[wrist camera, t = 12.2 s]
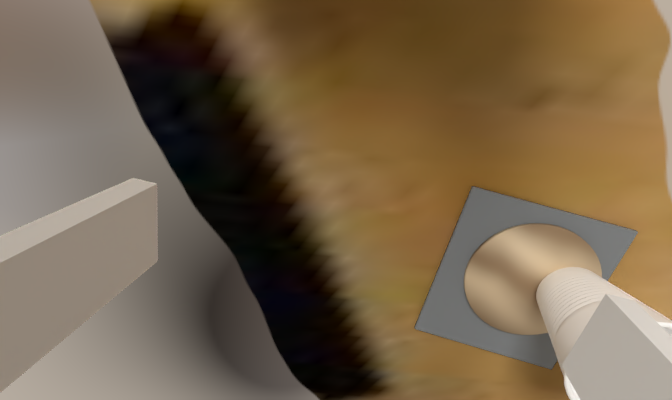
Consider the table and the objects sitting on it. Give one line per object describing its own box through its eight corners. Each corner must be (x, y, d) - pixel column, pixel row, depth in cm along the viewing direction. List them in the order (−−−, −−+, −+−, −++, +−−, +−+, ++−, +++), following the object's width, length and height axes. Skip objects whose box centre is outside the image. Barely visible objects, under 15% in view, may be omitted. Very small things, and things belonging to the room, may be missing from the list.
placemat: (472, 185, 34) (473, 187, 34) (635, 230, 33) (638, 232, 33) (414, 326, 40) (414, 328, 40) (550, 366, 40) (551, 369, 39)
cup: (625, 323, 35) (721, 423, 25) (522, 337, 38) (571, 434, 27) (619, 238, 33) (724, 312, 22) (508, 258, 35) (557, 334, 25)
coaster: (492, 207, 34) (493, 210, 33) (624, 244, 33) (628, 247, 33) (446, 311, 39) (447, 314, 38) (561, 345, 38) (564, 349, 37)
